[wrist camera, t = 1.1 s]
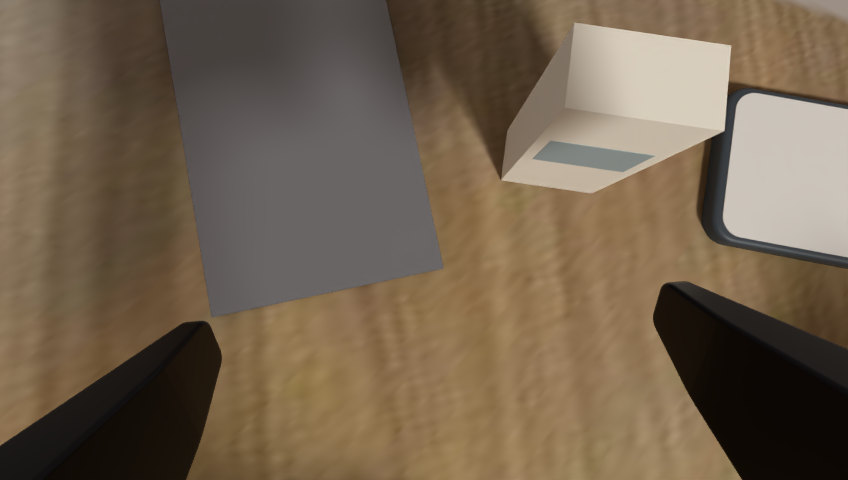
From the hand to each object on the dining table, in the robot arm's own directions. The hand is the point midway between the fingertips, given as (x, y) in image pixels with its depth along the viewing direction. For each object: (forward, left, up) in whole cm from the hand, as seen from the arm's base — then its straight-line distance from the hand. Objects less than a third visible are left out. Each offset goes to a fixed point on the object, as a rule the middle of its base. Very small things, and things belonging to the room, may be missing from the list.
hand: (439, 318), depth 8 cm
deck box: (-1, -10, -13) cm, 16 cm away
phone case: (-14, -19, -14) cm, 28 cm away
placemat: (+12, -3, -13) cm, 18 cm away
